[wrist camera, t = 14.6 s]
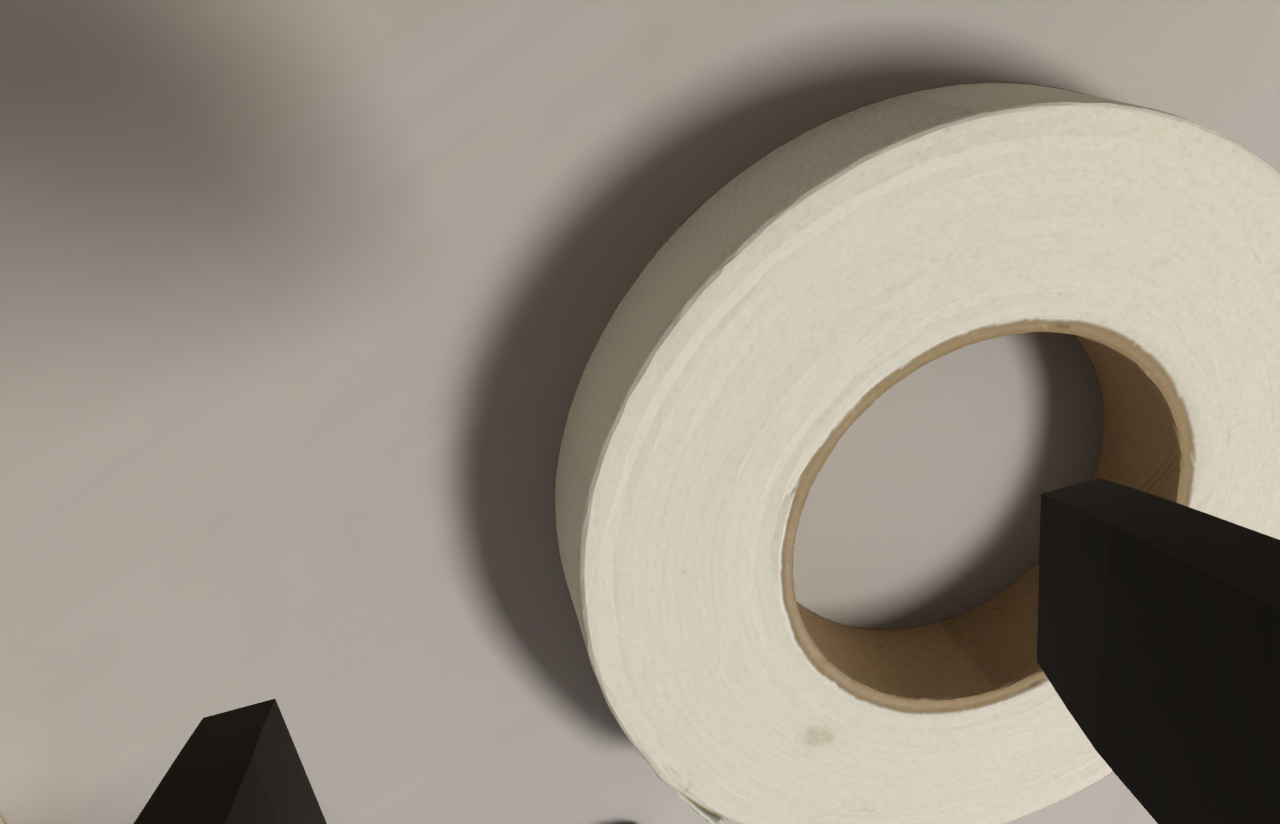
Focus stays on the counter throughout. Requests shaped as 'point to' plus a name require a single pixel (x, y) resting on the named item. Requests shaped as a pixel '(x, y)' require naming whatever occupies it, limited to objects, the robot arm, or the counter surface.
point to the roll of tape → (848, 384)
